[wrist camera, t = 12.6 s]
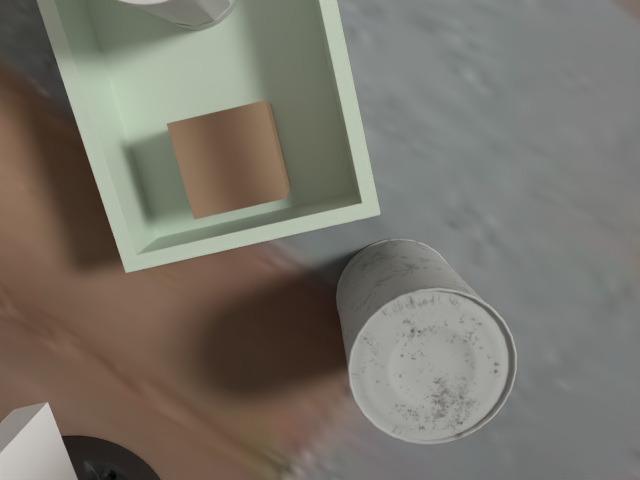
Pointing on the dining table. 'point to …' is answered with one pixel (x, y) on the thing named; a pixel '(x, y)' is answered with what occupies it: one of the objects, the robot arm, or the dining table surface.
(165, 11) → the cup
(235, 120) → the walnut block
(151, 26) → the tote
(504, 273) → the dining table surface
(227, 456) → the dining table surface
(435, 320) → the white can
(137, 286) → the dining table surface
